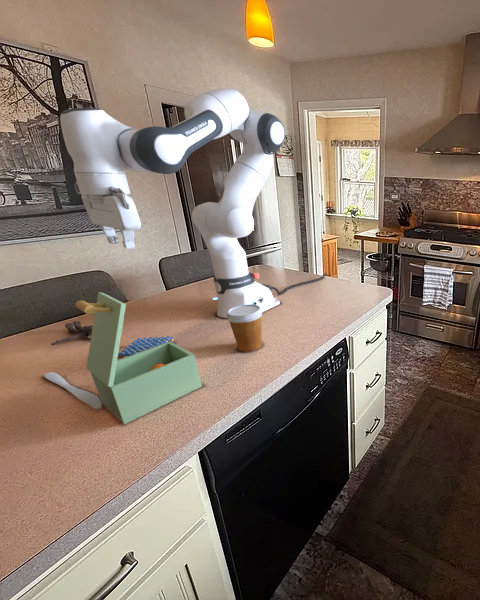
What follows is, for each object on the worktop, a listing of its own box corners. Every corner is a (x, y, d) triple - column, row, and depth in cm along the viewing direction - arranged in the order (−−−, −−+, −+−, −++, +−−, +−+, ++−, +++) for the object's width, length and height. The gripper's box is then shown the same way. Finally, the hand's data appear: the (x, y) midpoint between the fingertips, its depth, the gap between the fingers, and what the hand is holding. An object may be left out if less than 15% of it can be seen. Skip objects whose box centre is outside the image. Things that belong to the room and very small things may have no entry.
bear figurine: (104, 311, 112) (128, 315, 106) (108, 323, 113) (132, 327, 107) (32, 332, 96) (55, 338, 90) (38, 345, 98) (61, 352, 92)
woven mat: (115, 362, 88) (112, 355, 87) (137, 343, 98) (136, 337, 97) (157, 359, 89) (155, 352, 89) (175, 341, 99) (174, 335, 98)
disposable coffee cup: (233, 342, 99) (226, 306, 95) (266, 337, 103) (261, 301, 98) (231, 357, 91) (224, 318, 87) (268, 351, 94) (262, 313, 90)
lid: (103, 292, 68) (70, 290, 64) (126, 304, 62) (92, 303, 58) (91, 367, 69) (58, 371, 65) (113, 386, 63) (79, 391, 59)
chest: (178, 371, 84) (170, 341, 81) (202, 386, 78) (194, 354, 75) (102, 403, 72) (89, 369, 69) (124, 424, 66) (111, 388, 63)
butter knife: (57, 368, 83) (41, 373, 81) (109, 403, 71) (92, 411, 69) (58, 370, 83) (42, 375, 81) (110, 406, 72) (92, 413, 69)
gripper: (140, 187, 73) (155, 248, 78) (105, 185, 83) (120, 239, 88) (104, 188, 68) (123, 253, 73) (72, 185, 78) (90, 242, 83)
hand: (121, 245), depth 80 cm, fingers open, 8 cm apart
